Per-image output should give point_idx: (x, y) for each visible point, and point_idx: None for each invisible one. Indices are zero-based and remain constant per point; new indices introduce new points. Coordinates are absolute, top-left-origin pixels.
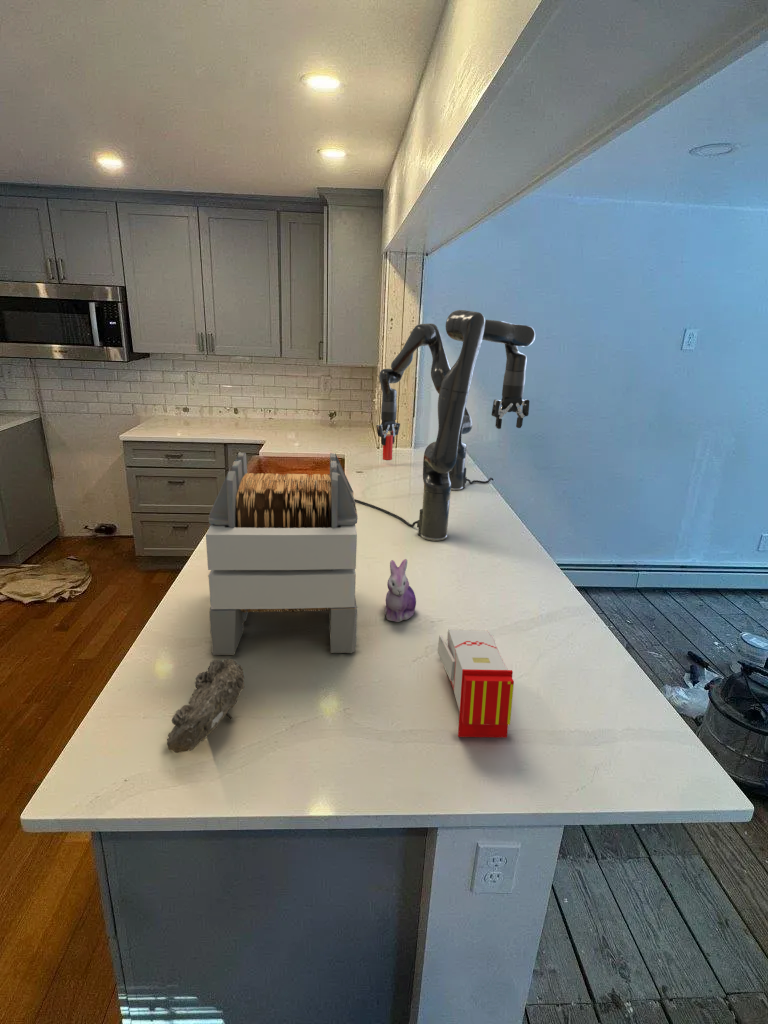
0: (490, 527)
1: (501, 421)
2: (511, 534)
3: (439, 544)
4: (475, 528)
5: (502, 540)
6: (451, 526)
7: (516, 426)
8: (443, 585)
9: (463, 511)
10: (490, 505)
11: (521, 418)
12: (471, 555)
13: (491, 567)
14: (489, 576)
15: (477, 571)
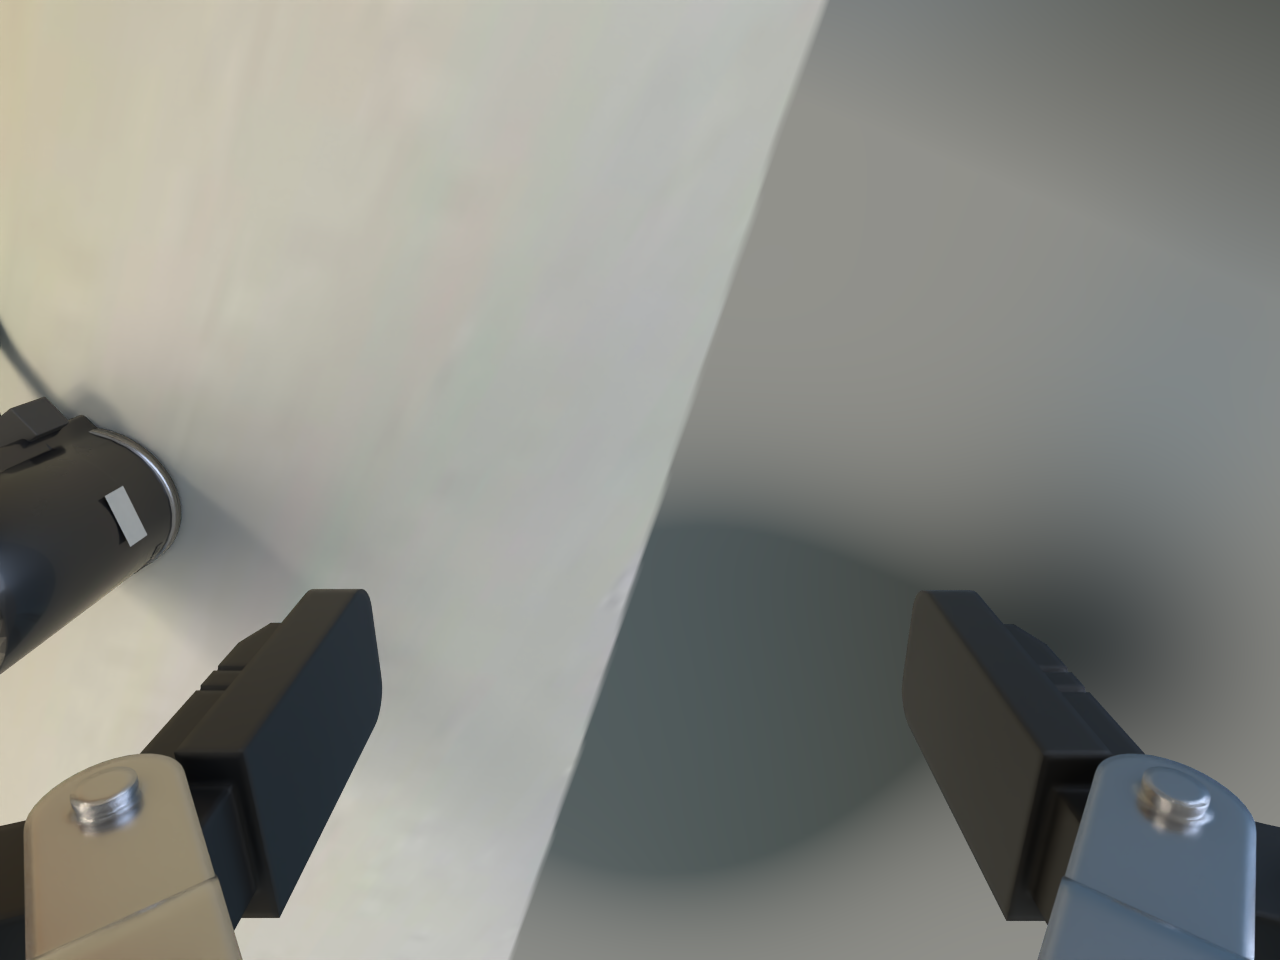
0: (496, 459)
1: (299, 852)
2: (564, 577)
3: (116, 598)
4: (397, 451)
5: (472, 632)
6: (258, 386)
7: (921, 604)
8: None
9: (446, 134)
10: (724, 52)
11: (1041, 917)
12: None
13: None
14: None
15: None
